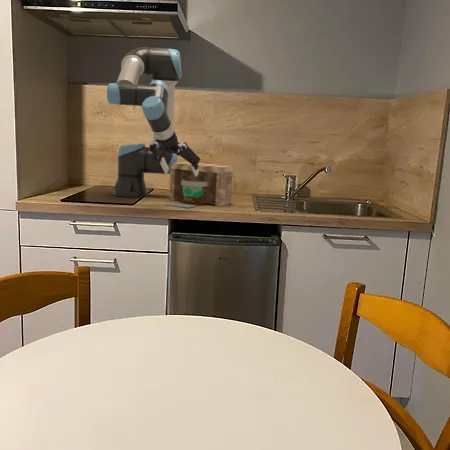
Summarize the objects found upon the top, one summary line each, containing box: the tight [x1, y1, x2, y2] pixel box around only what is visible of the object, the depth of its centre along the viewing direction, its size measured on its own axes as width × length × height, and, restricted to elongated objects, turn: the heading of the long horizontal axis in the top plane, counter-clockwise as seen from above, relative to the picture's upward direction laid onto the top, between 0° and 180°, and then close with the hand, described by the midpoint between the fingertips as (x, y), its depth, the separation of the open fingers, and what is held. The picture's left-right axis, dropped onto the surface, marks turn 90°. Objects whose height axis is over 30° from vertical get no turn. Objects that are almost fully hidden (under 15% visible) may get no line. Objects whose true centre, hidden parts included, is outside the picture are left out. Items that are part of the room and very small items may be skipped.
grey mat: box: [164, 202, 198, 209], centre depth 218 cm, size 11×8×1 cm
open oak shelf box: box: [169, 161, 234, 208], centre depth 231 cm, size 24×12×16 cm, turn 67°
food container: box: [181, 179, 208, 206], centre depth 224 cm, size 12×6×10 cm, turn 68°
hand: (181, 172), depth 213 cm, fingers open, 13 cm apart
